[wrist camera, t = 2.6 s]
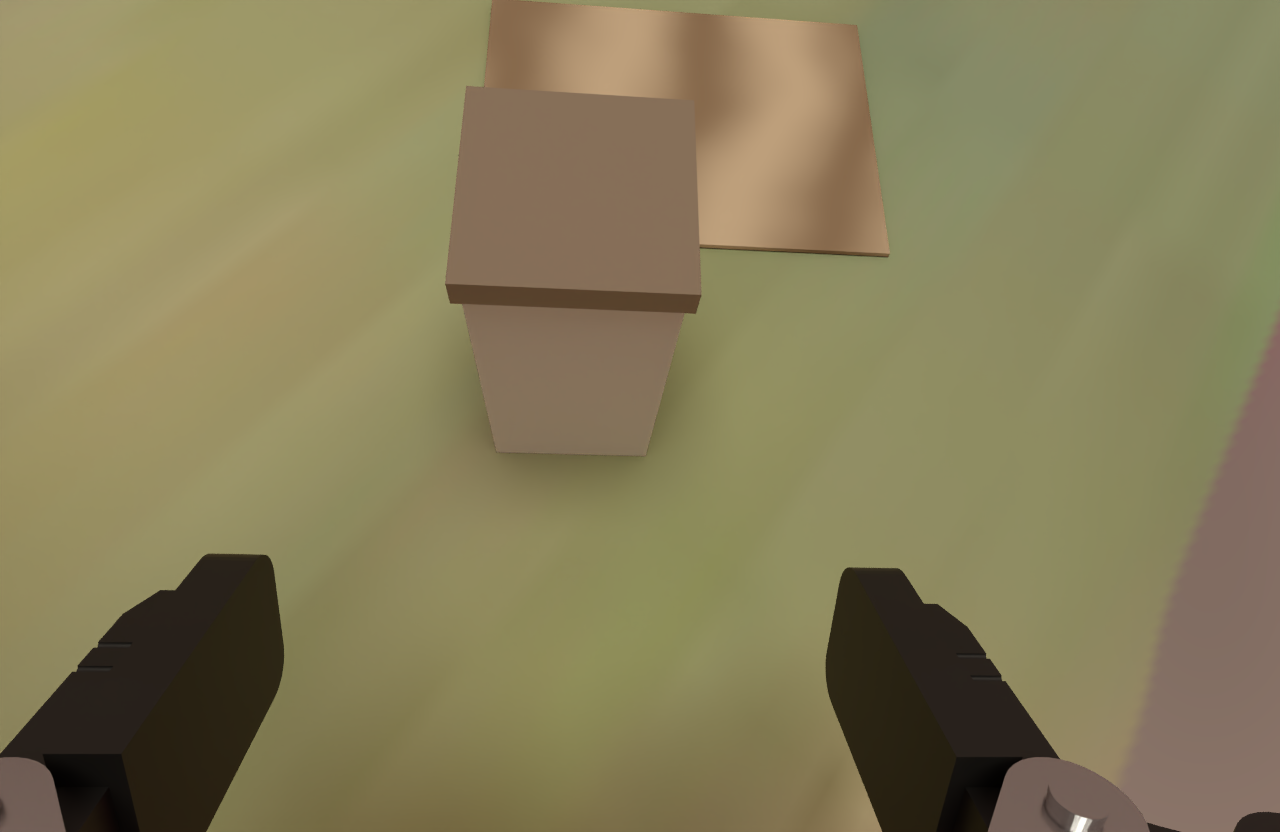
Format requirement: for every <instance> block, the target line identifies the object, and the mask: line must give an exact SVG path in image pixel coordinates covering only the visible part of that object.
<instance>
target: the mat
mask: <svg viewBox="0 0 1280 832" xmlns="http://www.w3.org/2000/svg"><path fill="white" fill-rule="evenodd" d="M484 87H489V88H505V89H521V90H537V91H553V92H569V93H585V94H601V95H616V96H632V97H648V98H664V99H680V100H694V107H695V135H696V162H697V189H698V217H699V244H700V247H703V248H723V249H744V250H764V251H785V252H805V253H825V254H846V255H866V256H886V257H888V256H889V254H890V251H889V244H888V237H887V230H886V223H885V216H884V209H883V202H882V195H881V188H880V182H879V175H878V168H877V161H876V154H875V147H874V140H873V133H872V126H871V119H870V112H869V105H868V98H867V92H866V85H865V78H864V71H863V64H862V57H861V50H860V43H859V36H858V29H857V25H847V24H834V23H820V22H806V21H793V20H779V19H765V18H751V17H738V16H724V15H710V14H697V13H683V12H669V11H655V10H642V9H628V8H614V7H600V6H587V5H573V4H559V3H546V2H532V1H518V0H492V9H491V20H490V30H489V41H488V51H487V62H486V72H485V83H484Z"/></svg>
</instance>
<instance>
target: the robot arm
mask: <svg viewBox="0 0 1280 832" xmlns="http://www.w3.org/2000/svg"><path fill="white" fill-rule="evenodd" d="M283 664H284V645H283V637H282V629H281V622H280V614H279V606H278V599H277V591H276V583H275V576H274V569H273V565H272V562H271V560H270V558H269V557H268V556H267V555H251V554H207V555H205V556H203V557H202V558H201V559H200V561H199V562H198V563H197V564H196V566H195V567H194V568H193V569H192V570H191V572H190V573H189V574H188V575H187V577H186V578H185V579H184V580H183V582H182V583H181V584H180V585H179V586H178V588H177V589H176V590H160V591H158V592H157V593H155V594H154V595H152V596H151V597H149V598H147V599H146V600H144V601H143V602H141V603H139V604H138V605H136V606H135V607H133V608H132V609H130V610H128V611H127V612H125V613H124V614H122V616H121V617H120V618H119V619H118V620H117V621H116V622H115V624H114V625H113V626H112V627H111V628H110V629H109V630H108V632H107V633H106V634H105V635H104V636H103V637H102V638H101V640H100V641H99V642H98V647H97V648H93V649H92V650H91V651H90V652H89V653H88V654H87V656H86V657H85V658H84V659H83V660H82V661H81V662H80V664H79V665H78V669H77V672H72V673H71V674H70V675H69V676H68V677H67V678H66V680H65V681H64V682H63V683H62V684H61V685H60V686H59V688H58V689H57V690H56V691H55V692H54V693H53V694H52V696H51V697H50V698H49V699H48V700H47V701H46V702H45V703H44V705H43V706H42V707H41V708H40V709H39V710H38V711H37V713H36V714H35V715H34V716H33V717H32V718H31V719H30V721H29V722H28V723H27V724H26V725H25V726H24V727H23V729H22V730H21V731H20V732H19V733H18V734H17V735H16V737H15V738H14V739H13V740H12V741H11V742H10V743H9V745H8V746H7V747H6V748H5V749H4V750H3V751H2V753H1V754H0V832H206V831H207V829H208V827H209V825H210V823H211V821H212V819H213V817H214V815H215V813H216V811H217V809H218V807H219V805H220V803H221V802H222V800H223V798H224V796H225V794H226V792H227V790H228V788H229V786H230V784H231V782H232V780H233V778H234V776H235V774H236V772H237V770H238V768H239V766H240V764H241V762H242V760H243V758H244V756H245V754H246V752H247V751H248V749H249V747H250V745H251V743H252V741H253V739H254V737H255V735H256V733H257V731H258V729H259V727H260V725H261V723H262V721H263V719H264V717H265V715H266V713H267V711H268V709H269V707H270V705H271V703H272V701H273V700H274V698H275V695H276V693H277V691H278V688H279V685H280V681H281V677H282V671H283ZM826 682H827V688H828V693H829V697H830V700H831V703H832V705H833V708H834V710H835V713H836V716H837V718H838V721H839V723H840V726H841V728H842V731H843V733H844V736H845V738H846V741H847V743H848V746H849V748H850V751H851V753H852V756H853V759H854V761H855V764H856V766H857V769H858V771H859V774H860V776H861V779H862V781H863V784H864V786H865V789H866V791H867V794H868V797H869V799H870V802H871V804H872V807H873V809H874V812H875V814H876V817H877V819H878V822H879V824H880V827H881V829H882V832H1179V831H1176V830H1171V829H1168V828H1164V827H1160V826H1157V825H1153V824H1150V823H1147V822H1146V821H1145V819H1144V817H1143V815H1142V813H1141V812H1140V811H1139V809H1138V808H1137V806H1136V805H1135V804H1134V803H1133V802H1132V801H1131V800H1130V799H1129V797H1128V796H1127V795H1125V794H1124V793H1123V792H1122V791H1121V790H1120V789H1119V788H1118V787H1116V786H1115V785H1113V784H1112V783H1111V782H1109V781H1108V780H1107V779H1105V778H1103V777H1102V776H1100V775H1098V774H1097V773H1095V772H1093V771H1091V770H1089V769H1087V768H1085V767H1082V766H1080V765H1077V764H1074V763H1072V762H1068V761H1064V760H1061V759H1060V758H1059V757H1058V756H1057V754H1056V753H1055V751H1054V750H1053V748H1052V747H1051V746H1050V744H1049V743H1048V741H1047V740H1046V738H1045V737H1044V736H1043V734H1042V733H1041V731H1040V730H1039V728H1038V727H1037V726H1036V724H1035V723H1034V721H1033V720H1032V718H1031V717H1030V716H1029V714H1028V713H1027V711H1026V710H1025V708H1024V707H1023V706H1022V704H1021V703H1020V701H1019V700H1018V698H1017V697H1016V696H1015V694H1014V693H1013V691H1012V690H1011V688H1010V687H1009V686H1008V684H1007V683H1006V681H1002V679H1001V674H1000V673H999V671H998V670H997V668H996V667H995V666H994V664H993V663H992V661H991V660H990V659H986V653H985V651H984V650H983V648H982V647H981V646H980V644H979V643H978V641H977V640H976V638H975V637H974V636H973V634H972V633H971V631H970V630H969V629H968V627H967V626H965V625H964V624H963V623H962V622H960V621H959V620H958V619H956V618H955V617H954V616H952V615H951V614H950V613H948V612H947V611H946V610H945V609H943V608H942V607H941V606H939V605H938V604H924V603H923V602H922V600H921V599H920V597H919V596H918V594H917V593H916V591H915V589H914V588H913V586H912V585H911V583H910V582H909V580H908V579H907V577H906V576H905V574H904V573H903V572H902V571H901V570H900V569H898V568H846V569H845V570H844V571H843V573H842V576H841V579H840V583H839V589H838V594H837V599H836V605H835V610H834V616H833V621H832V627H831V632H830V637H829V643H828V648H827V654H826ZM1234 832H1280V813H1271V812H1257V813H1253V814H1249V815H1247V816H1245V817H1243V818H1242V819H1241V820H1240V821H1239V822H1238V823H1237V825H1236V827H1235V829H1234Z"/></svg>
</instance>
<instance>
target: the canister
mask: <svg viewBox="0 0 1280 832" xmlns="http://www.w3.org/2000/svg"><path fill="white" fill-rule="evenodd" d="M445 285H446V289H447V293H448V296H449V300H450V303H453V304H462V305H463V310H464V314H465V318H466V323H467V327H468V331H469V336H470V340H471V344H472V349H473V353H474V357H475V362H476V366H477V370H478V375H479V379H480V383H481V388H482V392H483V396H484V401H485V405H486V409H487V414H488V418H489V422H490V427H491V431H492V435H493V440H494V444H495V448H496V452H507V453H544V454H581V455H618V456H646V453H647V449H648V446H649V442H650V438H651V435H652V431H653V427H654V424H655V420H656V416H657V413H658V409H659V405H660V401H661V398H662V394H663V390H664V387H665V383H666V379H667V376H668V372H669V368H670V365H671V361H672V357H673V354H674V350H675V346H676V343H677V339H678V335H679V332H680V328H681V324H682V321H683V317H684V313H693V314H696V311H697V308H698V304H699V301H700V298H701V271H700V244H699V217H698V189H697V162H696V135H695V107H694V100H680V99H664V98H648V97H632V96H616V95H601V94H585V93H569V92H553V91H537V90H521V89H505V88H489V87H474V86H466V93H465V103H464V112H463V121H462V131H461V140H460V150H459V159H458V168H457V178H456V187H455V197H454V206H453V215H452V225H451V234H450V244H449V253H448V262H447V272H446V281H445Z"/></svg>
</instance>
